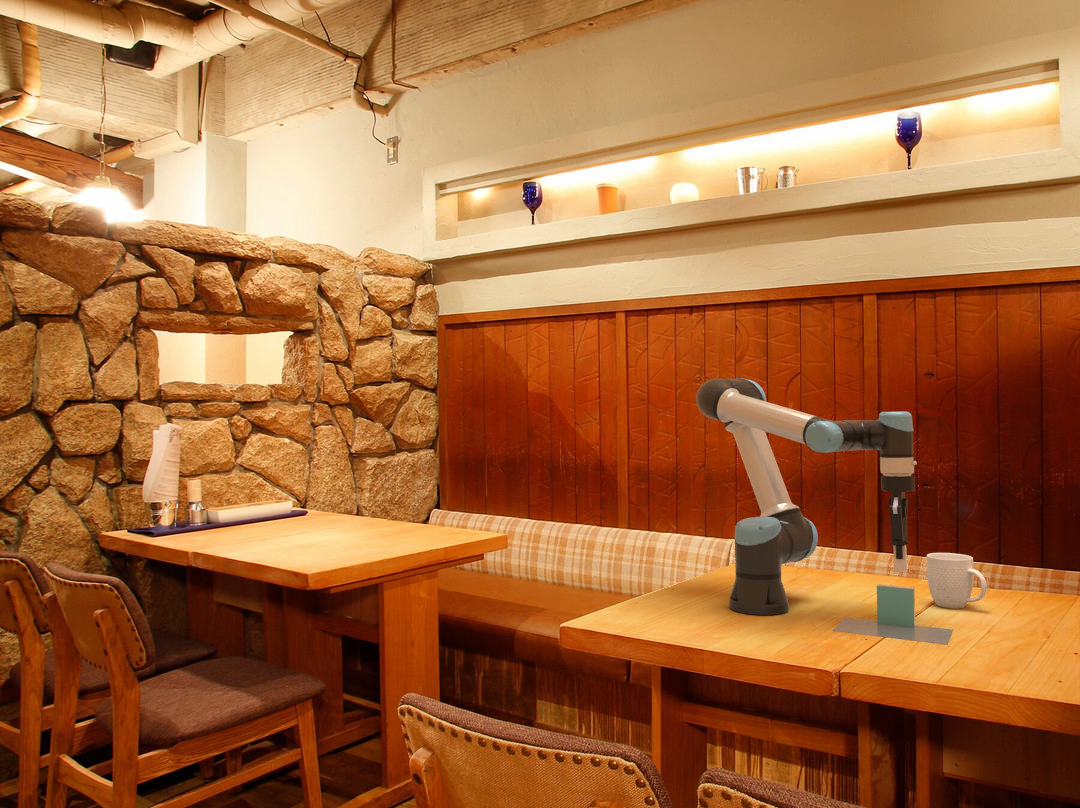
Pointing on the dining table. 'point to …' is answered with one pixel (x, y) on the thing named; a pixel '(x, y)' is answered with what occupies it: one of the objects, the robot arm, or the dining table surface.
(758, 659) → the dining table surface
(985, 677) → the dining table surface
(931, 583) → the mug
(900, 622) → the tile
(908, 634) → the slate board
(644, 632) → the dining table surface
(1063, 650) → the dining table surface
